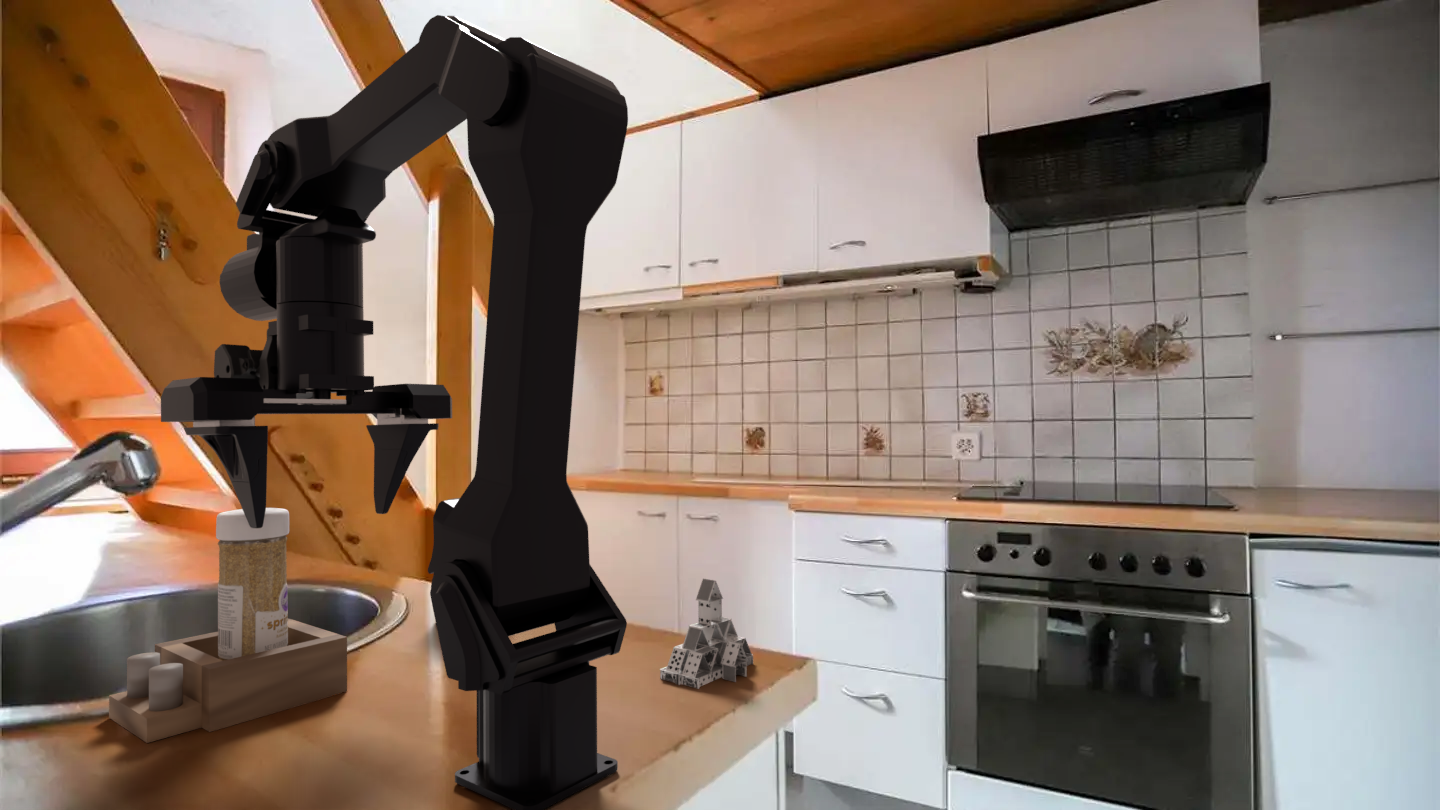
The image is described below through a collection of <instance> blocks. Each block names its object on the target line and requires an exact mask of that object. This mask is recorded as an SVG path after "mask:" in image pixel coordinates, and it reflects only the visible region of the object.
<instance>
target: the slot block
mask: <svg viewBox="0 0 1440 810" xmlns="http://www.w3.org/2000/svg"><path fill="white" fill-rule="evenodd" d="M346 691H347V692H348V636H345V635H342V634H339V633H336V632H333V631H330V630H326V629H323V628H320V627H317V626H314V625H310V624H308V623H305V622H301V621H298V620H295V619H292V618H288V645H287V646H285V647H281V648H276V649H272V650H268V651H263V652H259V653H255V654H250V655H246V656H241V657H237V658H233V659H228V660H224V661H222V660H220V659H219V656H218V631H214V632H209V633H204V634H199V635H194V636H190V637H184V638H180V639H174V640H169V641H165V642H158V643H156V644H154V651H153V652H144V653H138V654H133V655H131V656H129V657H127V658H126V691H121V692H118V693H113V694H109V696H108V719H110V720H111V721H114V722H115V723H116V724H117V725H119V726H121V728H124V729H126V730H127V731H128V732H129V733H131V734H132V735H134V736H136V737H137V738H138V739H140V740H141V741H143V742H144V743H146V744H148V743H152V742H156V741H159V740H163V739H166V738H170V737H174V736H177V735H179V734H180V735H181V734H183V733H188V732H190V731H195V730H198V729H204V731H207V732H208V733H211V732H214V731H215V732H216V731H218V730H221V729H225V728H228V727H231V726H235V725H238V724H242V723H245V722H248V721H251V720H255V719H258V718H262V717H266V716H269V715H272V714H277V713H280V712H283V711H286V710H290V709H294V708H298V707H299V706H300V707H301V706H303V705H306V704H310V703H313V702H316V701H319V700H322V699H326V698H330V697H333V696H332V695H334V696H336V695H335V694H337V695H340V694H343V693H342V692H344V693H346ZM339 693H340V694H339Z"/></svg>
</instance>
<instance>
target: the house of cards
mask: <svg viewBox="0 0 1440 810" xmlns="http://www.w3.org/2000/svg"><path fill="white" fill-rule="evenodd" d="M722 600H725V599H724V598H723V595H722V592H721V590H720V587H719V585H718V583H717V580H714V579H707V578H702V580H701V583H700V586H699V589H698V592H697V595H696V598H695V601H697V603H698V605H697V606H698V611H697V612H698V613H697V614H698V619H697V620H698V622H696V623H692V624H690V625H689V624H688V629H687V632H686V634H685V638H684V641H683V642H682V643H681V644H678V645H675V646H673V649H672V651H671V654H670V658H669V660H668V662H667V663H668V664H667V666H665V667H661V668H659V670H660V674H659V675H660V676H659V677H660V678H659V680H663V681H666V682H670V683H674V684H675V685H678V686H680V685H683V686H687V687H691V688H694V689H698V690H700V687H702V686H704V685H707V684H709V683H711V682H713V681H716V680H718V679H720V678H721V679H723V680H725V681H730V682H734V683H737V675H738V676H741V677H744V678H747V677H748V673H747V672H748V669H747V668H748V666H750V665H754V654H753V653H752V652H751V648H750V646H749V644H748V641H747V639H746V637H742V636H739V635H738V633H737V631H736V628H735V626H734V623H733V621H732V618H729V617H725V616H722V614H723V611H722V610H723V608H722V605H723V603H722Z"/></svg>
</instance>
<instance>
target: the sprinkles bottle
mask: <svg viewBox="0 0 1440 810" xmlns="http://www.w3.org/2000/svg"><path fill="white" fill-rule="evenodd" d="M289 533H290V512H289V510H288V509H286V508H278V507H266V511H265V517H264V523H263V527H262V528H251V527H250V526H249V523H248V521H247V519H246V516H245V514H244V511H243V509H242V508H240V509H233V510H227V511H223V512H220V513H217V516H216V524H215V538H216V539H217V540H219V541H217V545H218V547H219V548H218V549H219V550H218V572H219V573H218V576H219V577H218V582H217V632H218V656H219V659H220V660H222V661H224V660H228V659H233V658H237V657H241V656H246V655H250V654H255V653H259V652H263V651H268V650H272V649H276V648H281V647H285V646H287V645H288V615H289V613H288V611H289V610H288V609H289V608H288V607H289V606H288V605H289V604H288V600H289V599H288V582H287V581H288V580H287V579H288V578H287V576H288V574H287V567H288V566H287V558H288V557H287V541H288V537H287V535H289Z"/></svg>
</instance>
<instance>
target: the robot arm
mask: <svg viewBox="0 0 1440 810" xmlns="http://www.w3.org/2000/svg"><path fill="white" fill-rule="evenodd" d="M419 35H420V36H419V38H418V42H417V43H416V44H414V45H413V46H412V48H410V49H408V51H407V52H406V53H404V54H403V55H402V56H400V58H399V59H397V60H396V61H395V62H394V63H393V64H391V65H390V66H389V67H388V68H386V69H385V70H384V71H383V72H382V73H381V74H380V75H378V76H377V77H376V78H375V79H374V80H372V81H371V82H370V83H369V84H368V85H367V86H366V87H364V88H363V89H361V91H360V92H358V93H357V94H356V95H355V96H354V97H353V98H351V99H350V100H349V101H348V102H347V103H346V104H345V105H344V104H343V105H344V106H342V107H341V108H340V109H338V111H335V112H334V113H332V114H330V115H324V116H313V117H312V116H311V117H300V118H299V117H298V118H296V119H294V120H292V121H290V122H288V123H287V124H286V123H285V124H284V125H283V126H281V127H279V128H277V129H275V131H273V132H272V133H271V134H270V135H269V136H268V138H267V139H265V140H264V141H263V142H262V143H261V144H260V146H259V147H258V149H257V152H256V154H255V155H254V157H253V160H252V162H251V163H250V166H249V170H248V171H247V173H246V174H247V175H246V177H245V179H244V182H243V185H242V187H241V189H240V191H239V194H238V197H237V200H236V202H235V206H236V207H237V209H238V211H239V215H238V218H237V221H236V222H237V223H236V227H237V229H238V230H244V231H248V232H253V233H252V234H250V235H249V234H248V235H247V237H246V250H244V251H242V252H238V253H235V255H233V256H232V257H231V258H229V259H228V261H227V262H226V263H225V264H224V266H223V268H222V271H221V273H220V275H219V286H220V287H219V288H220V292H221V294H222V296H223V298H224V301H225V302H226V303H227V304H228V306H229V307H230V308H231V309H232V310H233V311H234V312H236V313H237V314H238V315H240V316H243V317H244V318H246V319H250V320H252V321H258V322H260V321H261V322H263V321H268V325H267V326H268V328H267V329H266V341H265V344H264V347H263V349H251V348H250V346H248V345H243V344H229V343H227V344H226V343H222V344H220V345H219V346H218V347H217V348H216V349H215V351H214V363H213V364H214V365H213V377H212V376H198V377H190V378H189V377H188V378H183V379H182V378H181V379H180V378H179V379H175V380H172V381H170V382H169V383H168V384H167V386H165V387H164V388H163V391H162V394H161V396H160V422H161V423H192V424H193V425H192V427H191V426H190V427H184V428H183V429H184V433H185V435H186V436H199V437H200V438H202V440H204V442H205V443H206V444H207V446H209V447H210V448H211V449H212V450H213V452H214V453H215V455H217V457H218V459H219V461H220V463H221V464H222V465H223V467H224V469H225V472H226V474H227V475H228V478H229V480H230V483H231V485H232V488H233V490H234V492H235V495H236V497H237V499H238V501H239V504H240V507H241V509H243V511H244V514H245V516H246V519H247V521H248V523H249V526H250V527H251V528H262V527H263V523H264V517H265V511H266V508H267V493H268V492H267V487H268V486H267V483H268V448H269V446H268V444H269V443H268V441H269V439H268V438H269V425H256V416H257V415H372V416H373V417H374V418H375V419H376V422H377V423H376V424H367V425H365V427H366V429H367V431H368V434H369V437H370V438H371V440H372V442H373V449H374V450H373V453H374V454H373V502H374V510H375V513H376V514H379V515H386V514H388V512H389V511H390V508H391V507H392V505H393V502H394V500H395V498H396V495H397V494H398V491H399V489H400V486H401V485H402V482H403V480H404V478H405V475H406V473H407V471H409V468H410V466H411V464H412V462H413V460H414V459H415V456H416V454H417V453H418V451H419V449H420V447H421V446H422V445H423V443H424V441H425V440H426V438H427V436H428V435H429V433H430V431H437V430H439V423H429V420H445V419H453V398H452V396H451V395H450V393H449V392H448V390H447V388H446V387H445V385H444V384H431V383H430V384H426V383H397V384H396V383H395V384H386V385H385V384H384V385H375V376H373V375H371V376H370V375H365V343H364V341H365V340H364V339H365V337H366V336H371V335H374V321H373V320H366V319H364V317H365V315H364V262H363V261H364V258H363V257H364V254H363V253H364V252H363V250H364V245H363V244H365V243H368V242H372V241H375V239H376V236H377V232H376V231H375V230H374V229H373V228H372V226H371V225H369V224H368V223H366V221H367V220H368V218H369V217H370V215H371V214H372V212H373V211H374V210H375V209H376V208H377V207H378V206H379V205H380V204H381V203H382V202H383V201H384V200H385V199H386V198H387V195H386V193H387V192H386V191H387V189H386V187H387V186H386V179H388V177H389V176H391V174H392V173H393V172H394V171H395V170H397V169H399V168H400V167H401V166H403V164H405V163H407V162H408V161H410V160H411V159H412V158H414V157H416V156H417V155H419V153H421V152H422V151H424V150H425V149H427V148H428V147H429V146H431V145H432V144H433V143H435V142H436V141H438V140H439V139H441V138H442V137H444V136H445V135H447V134H448V133H449V132H451V131H452V130H454V129H455V128H456V127H458V126H459V125H460V124H462V123H463V122H465V121H466V124H467V125H466V128H467V129H466V130H467V155H468V161H469V163H470V165H471V167H472V170H473V173H474V174H475V176H476V178H477V181H478V183H479V185H480V188H481V190H482V191H483V194H484V196H485V198H486V201H487V203H488V205H489V207H490V209H491V211H492V215H493V230H492V231H493V232H492V243H491V244H492V245H491V247H492V248H491V259H490V260H491V261H490V273H489V285H488V286H489V288H488V298H487V299H488V300H487V313H486V327H485V339H484V340H485V343H484V355H483V366H482V367H483V368H482V369H483V370H482V383H481V384H482V385H481V395H480V397H481V398H480V399H481V400H480V410H479V411H480V412H479V423H478V435H477V451H476V453H477V454H476V466H475V471H474V475H473V478H472V479H471V481H470V483H469V484H468V486H467V487H466V488H465V490H464V491H463V493H462V495H461V496H460V497H459V498H460V499H456V500H448V499H446V500H447V501H446V500H441V501H440V502H438V504H437V506H436V510H435V511H434V514H433V517H432V522H433V524H432V525H433V526H432V527H433V545H432V546H433V547H432V553H431V558H430V561H429V564H428V566H427V573H428V574H429V575H430V574H433V576H432V579H431V583H430V591H429V596H430V601H431V606H432V610H433V615H434V620H435V621H434V622H435V625H436V630H437V635H438V640H439V645H440V648H441V649H440V650H441V655H442V660H443V663H444V667H445V673H446V676H447V678H449V680H454V681H458V688H457V689H459V690H461V691H464V692H472V691H474V692H476V756H477V758H478V761H477V762H474V763H473V764H470V765H467V766H465V767H463V768H461V769H458V770H457V771H455V773H454V783H456V784H457V785H460V786H461V787H464V788H466V789H468V790H470V791H473V792H475V793H477V794H479V795H481V796H484V797H486V798H488V799H490V800H492V801H495V802H497V803H499V804H501V805H503V806H505V807H508V808H510V809H512V810H545V809H547V808H549V807H550V806H552V805H554V804H556V803H559V802H560V801H562V800H565V799H566V798H567V797H570V796H572V795H574V794H575V793H577V792H580V791H581V790H584V789H585V788H587V787H589V786H591V785H593V784H595V783H597V782H599V781H601V780H602V779H604V778H606V777H608V776H610V775H612V774H614V773H616V772H617V771H618V767H619V764H618V760H617V759H615V758H612V757H610V756H608V755H605V754H601V753H599V752H598V681H597V680H598V675H597V674H598V670H597V669H598V668H597V666H596V665H595V666H594V665H591V664H590V662H592V661H594V660H597V659H601V658H603V657H606V656H613V655H616V654H619V653H620V651H621V647H622V644H623V641H624V637H625V634H626V629H627V624H628V623H627V622H628V621H627V618H626V617H625V616H624V614H623V613H622V611H621V610H620V608H619V606H618V605H617V603H616V601H614V599H613V597H612V595H610V593H609V591H608V590H607V588H606V587H605V585H604V584H603V582H602V580H601V579H600V577H599V576H598V574H597V573H596V572H595V569H594V568H593V566H592V565H591V564H590V544H589V542H590V541H589V525H588V522H587V519H586V518H585V516H584V514H583V512H582V510H581V508H580V506H579V504H578V502H577V499H576V497H575V496H574V493H573V492H572V490H571V488H570V486H569V485H570V484H569V483H568V477H567V470H568V469H567V468H568V458H569V457H568V456H569V446H570V435H571V434H570V432H571V423H572V422H571V419H572V410H573V409H572V406H573V395H574V394H573V393H574V383H575V371H576V370H575V369H576V360H577V359H576V358H577V345H578V331H579V319H580V308H581V297H582V296H581V295H582V284H583V283H582V282H583V268H584V259H585V256H584V255H585V245H586V234H587V230H588V226H589V224H590V223H591V221H593V220H592V219H594V217H595V215H596V214H597V212H598V211H599V210H600V208H601V206H602V205H603V204H604V202H605V201H606V200H607V198H608V196H609V195H610V193H611V192H612V191H613V189H614V188H615V186H616V184H617V181H618V180H617V179H618V175H619V171H620V166H621V160H622V155H623V151H624V145H625V142H626V136H627V132H628V131H627V130H628V124H629V112H628V105H627V101H626V97H625V96H624V95H622V94H621V92H620V90H619V89H618V87H617V86H616V85H615V84H614V82H613V81H612V80H611V79H608V78H606V77H605V76H603V75H601V74H598V73H596V72H594V71H593V70H591V69H588V68H586V67H585V66H582V65H580V64H577V63H576V62H574V61H572V60H569V59H567V58H565V57H563V56H561V55H559V54H557V53H555V52H552V51H551V50H548V48H547V49H546V48H544V47H543V46H540V45H538V44H536V43H534V42H532V41H530V40H528V39H526V38H523V37H522V36H521V37H520V36H518V37H517V36H516V37H515V36H511V37H508V38H506V39H505V38H503V37H501V36H499V35H496V34H494V33H492V32H490V31H488V30H486V29H484V28H481V27H479V26H477V25H475V24H473V23H471V22H469V21H467V20H464V19H462V18H461V17H460V18H459V17H458V16H456V15H441V14H440V15H439V14H437V15H435V16H433V17H431V18H430V19H429V20H428V21H427V22H426V23H425V25H424V27H423V28H422V31H421V33H420V34H419ZM269 206H271V208H272V209H276V210H279V211H276V210H275V211H274V210H270V209H268V207H269ZM280 210H281V211H286V212H290V213H284V212H280ZM291 213H295V214H300V215H305V216H309V217H305V216H299V215H295V214H291ZM310 216H311V217H315V218H311V217H310ZM254 232H255V233H254ZM272 320H273V321H272ZM332 394H336V397H345V399H332ZM550 625H554V628H555V631H553V632H552V631H551V632H549V633H546V634H542V635H538V636H535V637H532V638H527V639H525V640H522V641H518V642H515V643H513V642H512V640H511V639H510V637H511V636H515V635H518V634H522V633H525V632H529V631H533V630H535V629H538V628H543V627H546V626H550Z"/></svg>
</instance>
